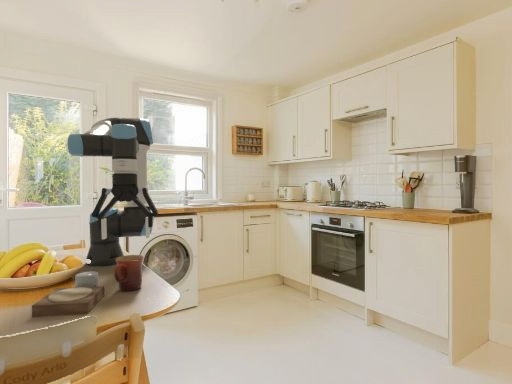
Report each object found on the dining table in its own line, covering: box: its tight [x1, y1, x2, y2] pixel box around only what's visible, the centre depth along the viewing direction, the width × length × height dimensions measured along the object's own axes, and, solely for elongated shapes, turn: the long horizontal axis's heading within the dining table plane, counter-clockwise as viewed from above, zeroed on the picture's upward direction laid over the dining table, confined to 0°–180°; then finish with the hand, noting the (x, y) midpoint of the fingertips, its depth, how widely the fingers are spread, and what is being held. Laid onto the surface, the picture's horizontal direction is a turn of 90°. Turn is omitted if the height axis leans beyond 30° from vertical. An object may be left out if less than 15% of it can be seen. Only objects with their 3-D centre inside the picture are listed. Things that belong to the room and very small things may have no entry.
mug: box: [113, 254, 145, 292], centre depth 107 cm, size 12×9×10 cm
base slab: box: [31, 285, 105, 318], centre depth 94 cm, size 14×14×3 cm
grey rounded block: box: [74, 270, 99, 287], centre depth 112 cm, size 7×7×4 cm
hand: (126, 238), depth 106 cm, fingers open, 13 cm apart
